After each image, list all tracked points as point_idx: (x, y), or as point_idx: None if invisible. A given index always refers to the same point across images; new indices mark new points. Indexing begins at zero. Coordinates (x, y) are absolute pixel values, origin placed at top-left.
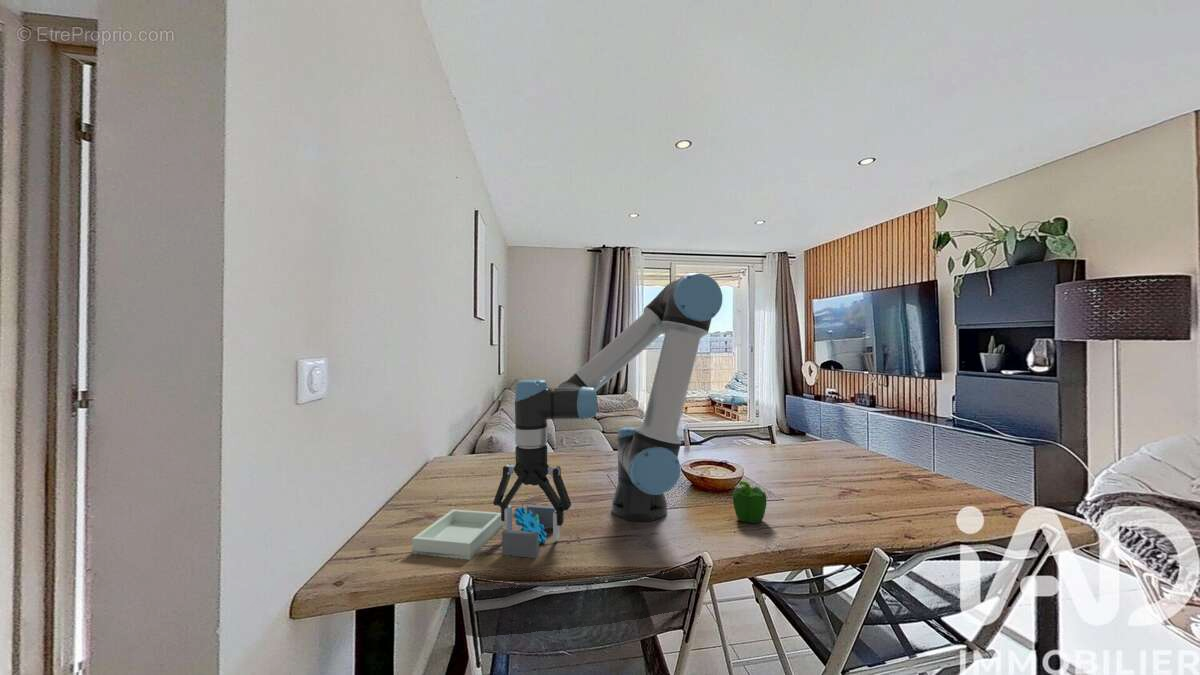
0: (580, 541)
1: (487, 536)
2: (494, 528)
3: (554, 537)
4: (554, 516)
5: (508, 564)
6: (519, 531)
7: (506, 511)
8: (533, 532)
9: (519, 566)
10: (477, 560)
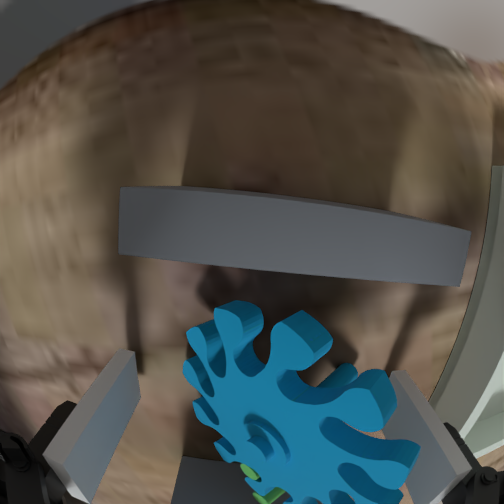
0: (53, 359)
1: (474, 339)
2: (449, 402)
3: (121, 361)
4: (64, 443)
5: (323, 106)
6: (328, 260)
7: (457, 464)
8: (164, 246)
9: (254, 88)
10: (469, 157)
